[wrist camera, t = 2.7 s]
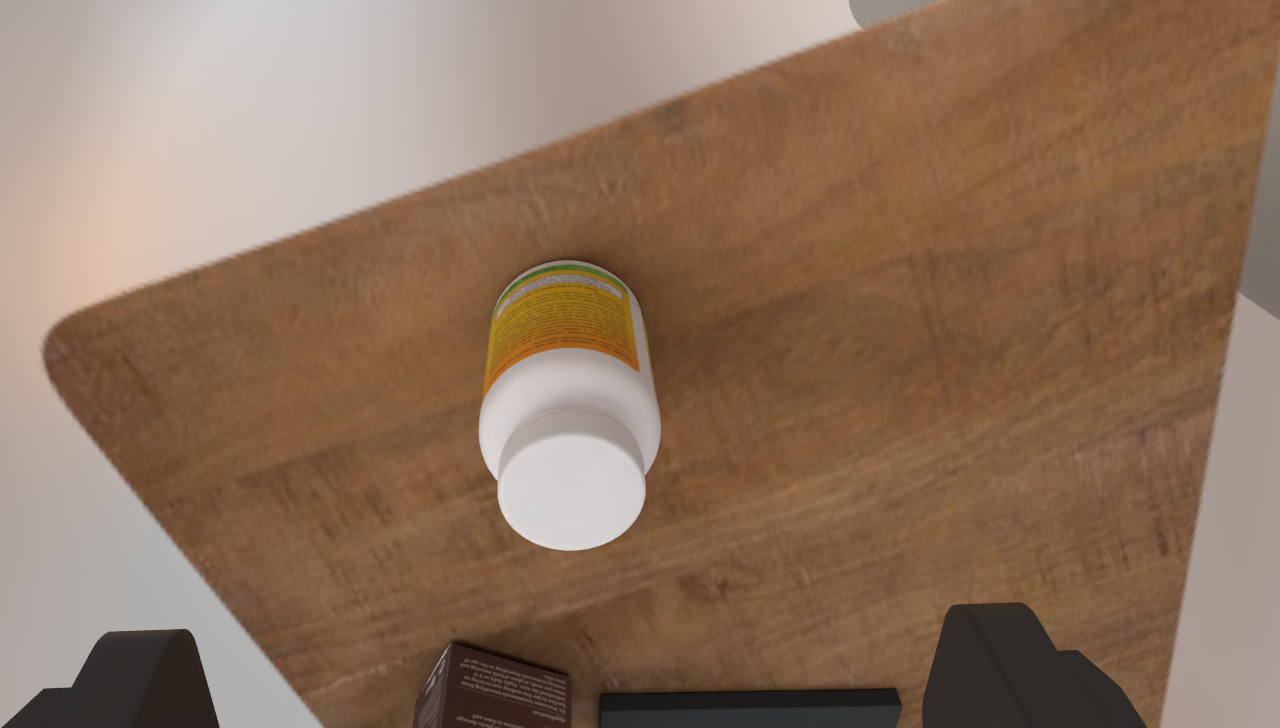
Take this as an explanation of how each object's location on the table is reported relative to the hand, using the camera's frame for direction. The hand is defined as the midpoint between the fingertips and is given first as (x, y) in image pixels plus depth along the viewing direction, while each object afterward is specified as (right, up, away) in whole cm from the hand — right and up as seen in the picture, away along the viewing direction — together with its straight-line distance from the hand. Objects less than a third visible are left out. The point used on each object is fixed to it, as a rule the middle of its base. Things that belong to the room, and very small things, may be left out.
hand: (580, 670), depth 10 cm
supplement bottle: (-2, +5, +23) cm, 24 cm away
